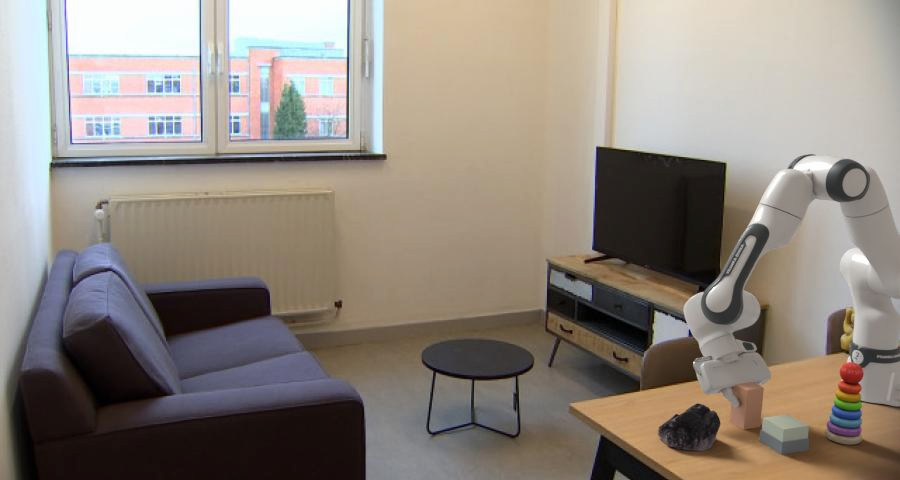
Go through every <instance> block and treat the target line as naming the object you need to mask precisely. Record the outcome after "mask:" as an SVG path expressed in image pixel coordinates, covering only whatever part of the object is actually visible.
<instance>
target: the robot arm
mask: <svg viewBox="0 0 900 480" xmlns="http://www.w3.org/2000/svg"><path fill="white" fill-rule="evenodd" d="M815 199H817V200H820V201H832V202H836V203H839V207H840V210H841V214H842V218H843V221H844V225H845V227H846V231H847V234H848V238H849V241H851V243H852V244H853V245H854V246H855V247H852V248H850V249H847V251H845V252H844V254H843V255H842V256H841V259H840V262H839V272H840V274H841V276H842V278H843V279H844V280H845V282H846V284H847V285H848V288H849V291H850V294H851V299H852V302H853V307H854V311H855V318H854V331H853V339H852V340H851V344H850V351H849V353H850V354H849V356H848V358H847V361H846V363H848V362H854V363H857V364H859V365H860V366H861V367H862V369H863V372H864V376H863V378H862V380H861V381H860V382H859V384H860V385H861V386H862V390H861V391H860V392H859V393H860V394H861V400H860V401H862V402H866V403H871V404H880V405H881V404H882V405H888V406H892V407H900V346H899V345H900V344H899V343H900V313H899V312H898V310H897V309H896V308H895V306H894V304H893V301H892V299H894V300H895V299H896V300H900V232H899V230H898V228H897V225H896V223H895V219H894V216H893V213H892V210H891V207H890V201H889V199H888V196H887V193H886V190H885V188H884V185H883V183H882V180H881V179H880V177H879V175H878V173H877V172H876V170H875V169H874V168H873V167H871V166H868V165H863V164H861V163H859V162H858V161H856V160H854V159H849V158H843V157H839V156H836V155H830V154H829V155H828V154H827V155H823V154H822V155H820V154H819V155H816V154H813V153H812V154H811V153H810V154H803V155H800V156H798V157H796V158H795V159H793V160H792V161H791V162H790V164H789V165H788V167H787V168H785V169H781V170H780V171H778V172H777V173H776V174H775V176H774V177H773V178H772V180H770V182H769V184H768V186H767V187H766V189H765V190H764V193H763V194H762V197H761V199H760V201H759V203H758V206H757V207H756V209H755V212H754V214H753V216H752V218H751V219H750V221H749V223H748V225H747V226H746V228H745V230H744V231H743V233H742V234H741V235H740V237H739V239H738V241H737V242H736V243H735V246H734V248H733V250H732V251H731V253H730V255H729V257H728V259H727V260H726V262H725V264H724V266H723V268H722V270H721V272H720V273H719V275H718V276H717V277H716V279H715V280H714V281H712V283H710V284H709V285H708V287H706V288H705V290H704V291H700V292H698V293H695V294H694V295H692V296H691V297H690V298H688V299H687V300H686V302H685V304H684V305H683V310H682V311H683V316H684V319H685V321H686V323H687V324H686V325H687V326H688V328H689V330H690V333H691V334H692V336H693V338H694V339H695V340H696V341H697V343H698V346H699V347H698V348H699V351H700V352H701V354H702V357H697V358H696V357H695V359H694V361H693V364H692V366H693V369H694V371H695V374H696V378H697V381H698V383H699V385H700V388H701V391H702V392H703V393H704V394H705V395H707V396H710V395H715V394H720V393H721V394H722V396H723V397H724V398H725V399H726V400H727V401H728V402H730V404H731V403H732V405H733V407H734V408H736V407H740V406H741V405H742V402H741V400H740V398H736V397H735V396H734V395H733V394H732V392H733V391H732V390H733V387H734V386H736V385H737V384H742V383H748V382H753V383H755V384H757V385H759V386H762V385H764V384H766V383H768V382H769V381H771V379H772V372H771V370H770V368H769V366H768V365H767V363H766V362H765V359H764V358H763V356H762V355H760V353H758V352H756V351H757V349H758V348H757V346H756V344H755V343H754V342H749V341H744V340H740V339H737V338H735V336H734V334H733V333H734V332H738V331H741V330H744V329H746V328H749V327H751V326H753V325H755V323H757V322H758V320H759V318H760V317H761V312H762V311H761V310H762V308H761V303H760V301H759V299H758V298H757V297H756V295H754V294H753V293H751V292H749V291H746V290H745V287H746V285H747V283H748V282H749V281H748V280H749V279H750V276H751V275H752V273H753V271H754V270H755V268H756V265H757V264H758V262H759V261H760V260H761V258H762V257H763V256H764V255H765V254H766V253H769V252H771V251H773V250H775V249H780V248H783V247H785V246H787V245H789V244H790V243H791V241H793V239H794V238H795V236H796V235H797V233H798V231H799V230H800V228H801V226H802V223H803V221H804V218H805V217H806V214H807V211H808V208H809V206H810V204H811V203H812V202H813V201H814V200H815ZM840 381H843V380H842V379H841V380H840Z"/></svg>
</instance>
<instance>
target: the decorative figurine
mask: <svg viewBox="0 0 900 480" xmlns="http://www.w3.org/2000/svg"><path fill="white" fill-rule="evenodd" d="M854 318H855V311H854V306H853V307H847V308H846V310H845V318H844V321H843V332H844V334H842V335H841V337H840V347H841V349H842V350H844V354H848V353H849V351H850V344H851V340H852V339H853V331H854Z"/></svg>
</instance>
